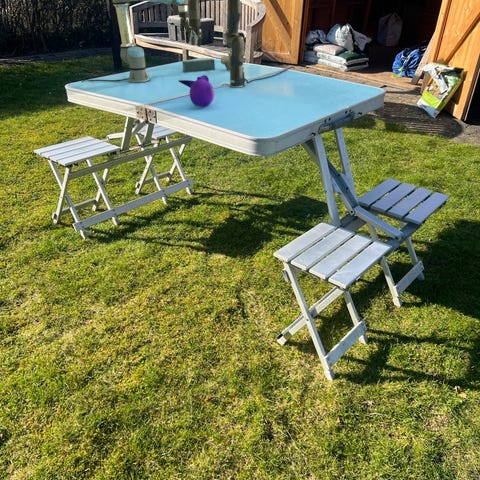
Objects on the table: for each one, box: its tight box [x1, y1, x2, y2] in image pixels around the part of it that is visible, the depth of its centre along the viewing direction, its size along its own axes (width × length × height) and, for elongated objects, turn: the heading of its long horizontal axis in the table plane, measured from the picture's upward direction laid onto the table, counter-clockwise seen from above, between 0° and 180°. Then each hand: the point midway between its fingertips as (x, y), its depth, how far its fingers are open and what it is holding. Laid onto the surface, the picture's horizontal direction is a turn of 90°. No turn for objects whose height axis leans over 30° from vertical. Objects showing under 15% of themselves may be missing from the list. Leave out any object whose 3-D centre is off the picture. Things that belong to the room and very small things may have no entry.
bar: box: [182, 58, 216, 73], centre depth 372 cm, size 26×5×8 cm, turn 112°
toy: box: [178, 74, 216, 108], centre depth 268 cm, size 16×18×27 cm
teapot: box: [220, 49, 245, 71], centre depth 370 cm, size 21×12×15 cm, turn 120°
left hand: (185, 41), depth 359 cm, fingers open, 13 cm apart
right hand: (196, 45), depth 290 cm, fingers open, 8 cm apart
